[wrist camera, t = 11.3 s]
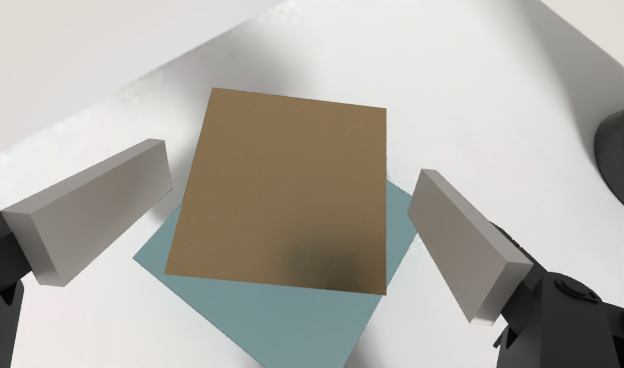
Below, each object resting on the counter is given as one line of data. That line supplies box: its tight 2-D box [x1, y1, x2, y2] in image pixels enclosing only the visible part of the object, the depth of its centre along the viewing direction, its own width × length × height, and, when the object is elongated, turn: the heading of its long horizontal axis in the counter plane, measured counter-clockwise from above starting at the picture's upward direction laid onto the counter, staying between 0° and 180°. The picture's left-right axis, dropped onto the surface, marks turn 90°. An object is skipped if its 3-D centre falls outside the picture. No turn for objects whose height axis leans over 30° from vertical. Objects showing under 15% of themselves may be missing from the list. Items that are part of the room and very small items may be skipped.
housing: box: [164, 88, 386, 295], centre depth 13 cm, size 6×6×12 cm
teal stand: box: [133, 179, 417, 368], centre depth 21 cm, size 16×16×4 cm
